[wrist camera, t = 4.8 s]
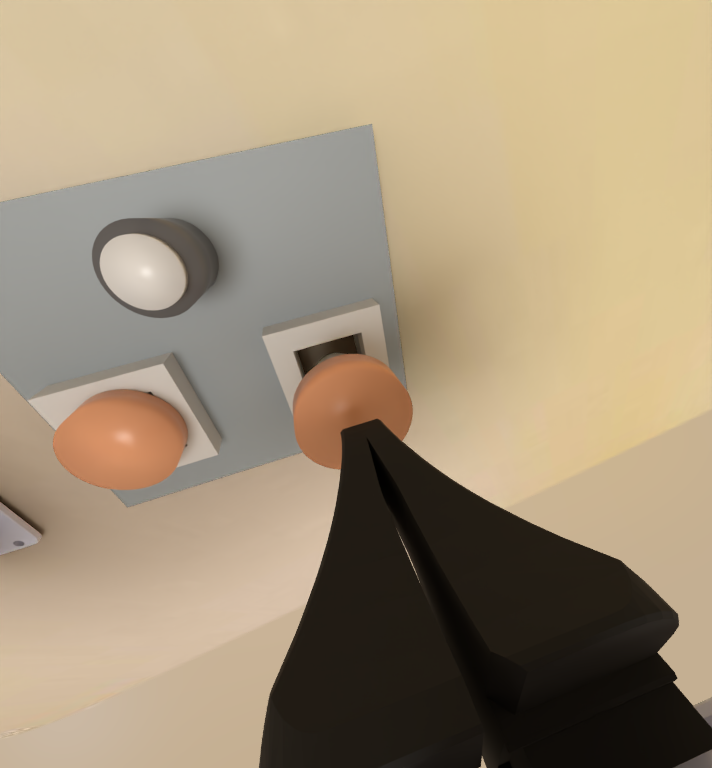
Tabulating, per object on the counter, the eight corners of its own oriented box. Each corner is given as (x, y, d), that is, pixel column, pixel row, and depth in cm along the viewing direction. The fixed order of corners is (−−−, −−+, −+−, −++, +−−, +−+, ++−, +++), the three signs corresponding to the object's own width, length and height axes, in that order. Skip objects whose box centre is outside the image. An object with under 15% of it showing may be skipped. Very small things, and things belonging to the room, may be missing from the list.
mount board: (138, 486, 19) (117, 526, 17) (-87, 229, 11) (-186, 232, 9) (401, 405, 21) (418, 430, 18) (362, 133, 13) (381, 114, 11)
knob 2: (304, 421, 16) (313, 482, 12) (276, 344, 14) (276, 391, 10) (385, 396, 17) (417, 449, 13) (371, 317, 14) (406, 353, 10)
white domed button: (162, 303, 13) (122, 333, 10) (121, 227, 12) (56, 231, 8) (230, 285, 13) (214, 309, 10) (198, 210, 12) (168, 207, 8)
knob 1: (136, 441, 18) (99, 502, 14) (85, 375, 15) (23, 427, 12) (214, 419, 18) (198, 471, 14) (176, 351, 16) (145, 392, 12)
